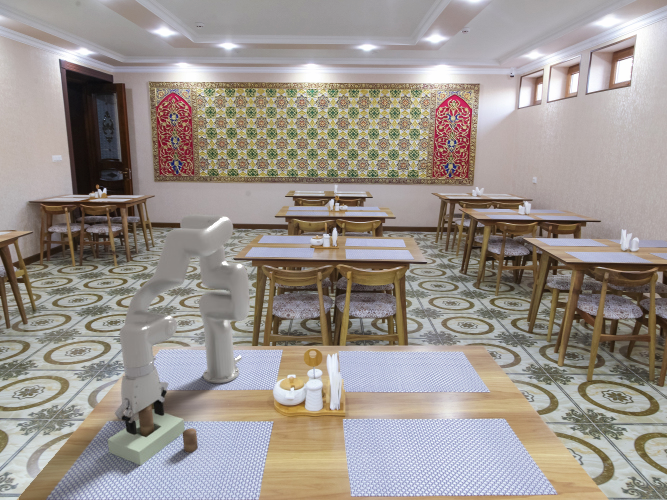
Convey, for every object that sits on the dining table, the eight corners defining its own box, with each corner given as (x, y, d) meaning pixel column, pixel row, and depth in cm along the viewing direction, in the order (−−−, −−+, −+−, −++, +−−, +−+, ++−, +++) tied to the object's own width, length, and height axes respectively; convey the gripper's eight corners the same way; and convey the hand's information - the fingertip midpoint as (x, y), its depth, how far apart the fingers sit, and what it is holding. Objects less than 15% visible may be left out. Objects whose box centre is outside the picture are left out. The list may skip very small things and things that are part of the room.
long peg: (149, 436, 133) (144, 398, 131) (158, 439, 132) (154, 401, 129) (139, 443, 130) (134, 405, 127) (148, 446, 129) (143, 408, 126)
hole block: (154, 421, 141) (153, 409, 140) (184, 431, 135) (183, 419, 134) (109, 452, 127) (107, 439, 126) (140, 465, 121) (139, 452, 120)
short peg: (190, 442, 130) (189, 427, 129) (200, 446, 129) (199, 430, 128) (181, 450, 127) (179, 434, 126) (191, 454, 126) (189, 437, 124)
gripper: (154, 352, 135) (160, 404, 139) (102, 379, 120) (110, 437, 124) (173, 357, 132) (178, 410, 136) (122, 385, 116) (130, 445, 120)
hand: (146, 423), depth 130 cm, fingers open, 9 cm apart
